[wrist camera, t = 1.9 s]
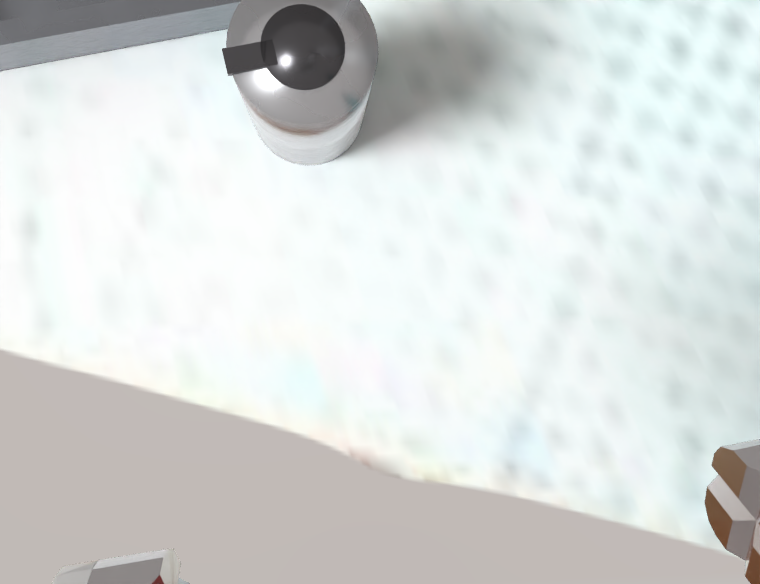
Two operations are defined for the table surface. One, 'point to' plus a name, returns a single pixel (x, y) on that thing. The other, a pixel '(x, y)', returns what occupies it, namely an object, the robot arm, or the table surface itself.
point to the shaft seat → (99, 26)
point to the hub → (303, 73)
